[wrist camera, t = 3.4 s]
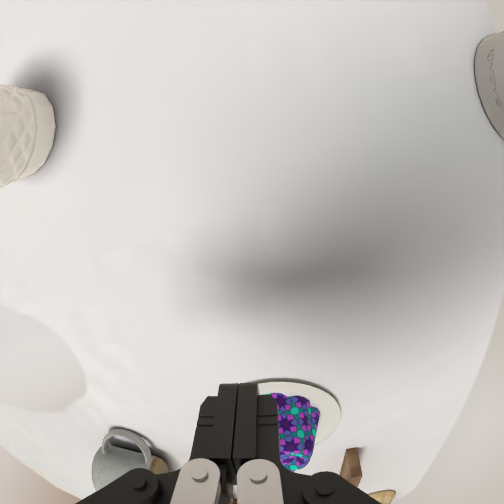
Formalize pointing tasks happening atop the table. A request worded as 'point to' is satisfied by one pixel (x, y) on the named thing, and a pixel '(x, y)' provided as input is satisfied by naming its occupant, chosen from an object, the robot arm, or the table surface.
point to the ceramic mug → (123, 459)
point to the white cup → (24, 132)
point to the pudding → (301, 420)
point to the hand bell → (383, 496)
